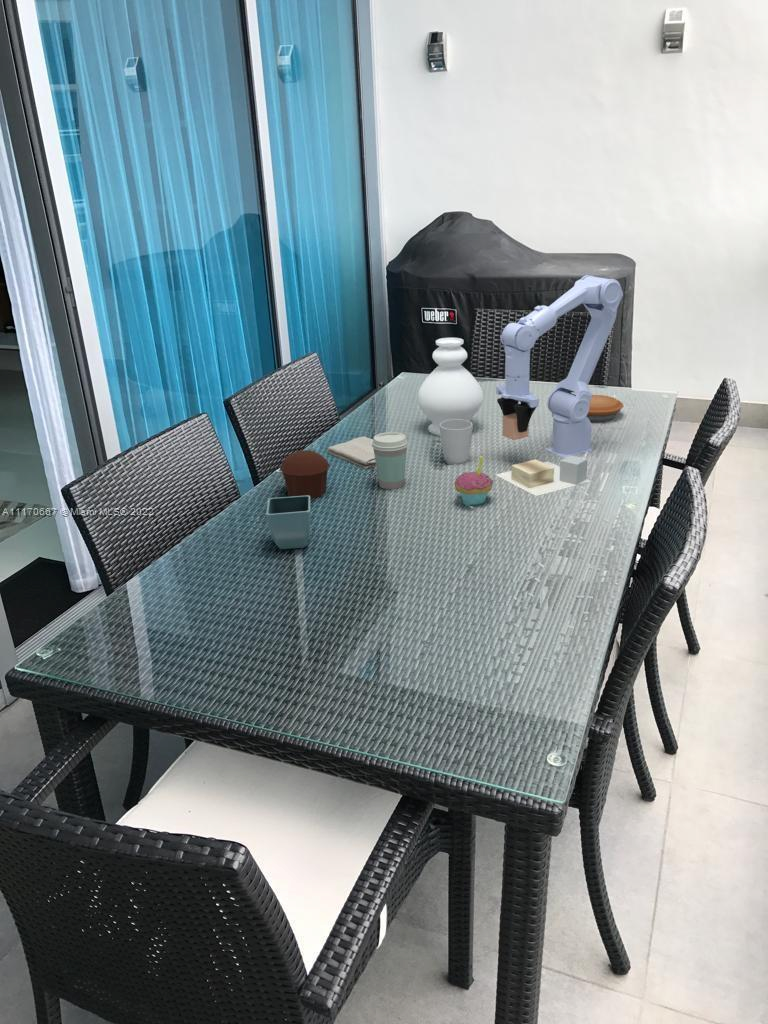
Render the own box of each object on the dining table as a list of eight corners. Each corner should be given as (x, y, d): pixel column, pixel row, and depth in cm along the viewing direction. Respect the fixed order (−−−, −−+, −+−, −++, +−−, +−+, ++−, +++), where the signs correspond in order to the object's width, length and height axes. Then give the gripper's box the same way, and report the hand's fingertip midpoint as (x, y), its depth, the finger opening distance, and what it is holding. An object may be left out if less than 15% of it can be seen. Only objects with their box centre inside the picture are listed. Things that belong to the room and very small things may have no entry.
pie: (567, 424, 245) (568, 407, 243) (566, 408, 259) (567, 391, 257) (624, 425, 243) (625, 407, 241) (620, 408, 257) (621, 392, 255)
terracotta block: (517, 431, 217) (517, 412, 215) (528, 436, 214) (528, 417, 212) (502, 435, 216) (502, 416, 213) (513, 440, 212) (513, 420, 210)
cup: (472, 456, 225) (472, 419, 220) (472, 467, 217) (472, 429, 213) (441, 456, 225) (440, 419, 221) (439, 467, 218) (438, 429, 214)
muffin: (273, 499, 204) (269, 458, 200) (294, 482, 213) (291, 443, 209) (320, 504, 200) (317, 463, 196) (339, 486, 210) (336, 447, 205)
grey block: (569, 474, 208) (570, 455, 206) (586, 478, 206) (587, 459, 204) (559, 480, 205) (560, 460, 203) (576, 484, 203) (577, 464, 201)
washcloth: (367, 472, 219) (367, 460, 218) (325, 455, 232) (324, 443, 230) (403, 460, 226) (403, 448, 225) (360, 444, 239) (359, 433, 237)
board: (548, 463, 218) (548, 461, 217) (591, 483, 205) (591, 481, 204) (495, 477, 211) (495, 474, 211) (536, 498, 198) (536, 496, 198)
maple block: (535, 473, 210) (535, 459, 209) (553, 481, 205) (554, 467, 203) (511, 479, 207) (511, 465, 206) (529, 488, 202) (529, 474, 200)
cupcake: (496, 497, 199) (496, 447, 195) (487, 511, 192) (488, 460, 187) (459, 493, 202) (459, 444, 197) (450, 508, 195) (449, 457, 190)
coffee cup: (415, 480, 211) (413, 433, 206) (400, 493, 204) (398, 444, 199) (383, 476, 214) (380, 429, 210) (367, 488, 207) (365, 440, 203)
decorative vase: (485, 438, 237) (485, 347, 227) (419, 440, 238) (417, 349, 228) (479, 418, 253) (480, 332, 243) (418, 420, 254) (416, 334, 244)
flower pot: (271, 536, 185) (267, 497, 182) (313, 533, 186) (310, 494, 182) (270, 554, 177) (266, 514, 173) (313, 551, 178) (310, 511, 174)
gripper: (486, 370, 213) (485, 424, 218) (522, 383, 201) (520, 439, 206) (509, 366, 216) (508, 419, 221) (546, 378, 204) (544, 434, 209)
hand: (516, 428), depth 214 cm, fingers closed on terracotta block, 4 cm apart
